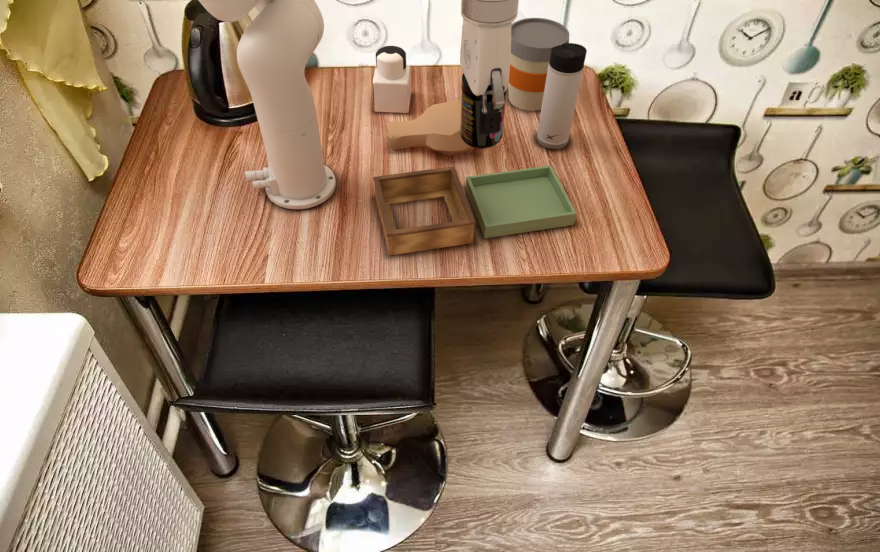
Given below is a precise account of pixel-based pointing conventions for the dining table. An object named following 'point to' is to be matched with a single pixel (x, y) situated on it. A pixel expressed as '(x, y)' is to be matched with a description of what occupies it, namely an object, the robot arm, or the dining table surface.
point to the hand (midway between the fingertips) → (482, 117)
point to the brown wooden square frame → (424, 188)
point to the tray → (519, 201)
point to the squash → (431, 130)
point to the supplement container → (476, 119)
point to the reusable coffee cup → (532, 59)
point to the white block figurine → (391, 81)
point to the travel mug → (560, 94)
